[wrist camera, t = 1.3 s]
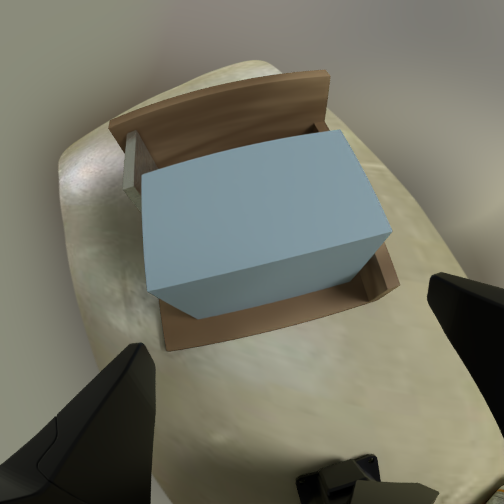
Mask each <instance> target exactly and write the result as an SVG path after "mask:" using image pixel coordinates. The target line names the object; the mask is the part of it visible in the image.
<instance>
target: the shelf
mask: <svg viewBox="0 0 504 504" xmlns="http://www.w3.org/2000/svg"><path fill="white" fill-rule="evenodd" d="M329 84H330V75H329V74H328V72H327V71H326V70H315V71H303V72H293V73H286V74H277V75H270V76H263V77H257V78H251V79H246V80H241V81H236V82H231V83H226V84H222V85H217V86H213V87H209V88H205V89H201V90H197V91H193V92H190V93H186V94H183V95H179V96H176V97H173V98H170V99H166V100H163V101H160V102H157V103H154V104H151V105H148V106H146V107H143V108H140V109H137V110H135V111H132V112H129V113H127V114H124V115H122V116H119V117H117V118H115V119H112V120H110V123H109V128H108V129H109V130H110V132H111V133H112V135H113V136H114V138H115V139H116V141H117V143H118V144H119V146H120V147H121V149H122V150H123V152H124V153H125V149H126V139H127V133H130V132H132V131H135V130H137V132H138V133H139V135H140V137H141V139H142V141H143V143H144V144H145V146H146V148H147V150H148V151H149V153H150V155H151V157H152V159H153V160H154V162H155V164H156V166H157V167H158V169H161V168H165V167H168V166H171V165H174V164H178V163H181V162H185V161H188V160H192V159H195V158H199V157H203V156H206V155H210V154H214V153H218V152H222V151H226V150H230V149H234V148H239V147H243V146H248V145H252V144H257V143H262V142H267V141H272V140H277V139H282V138H288V137H293V136H299V135H305V134H312V133H318V132H325V131H330V130H329V128H328V127H327V125H326V123H325V114H326V107H327V99H328V92H329ZM398 286H400V283H399V280H398V277H397V274H396V271H395V269H394V266H393V263H392V261H391V258H390V255H389V253H388V250H387V248H386V245H385V243H384V242H383V244H382V245H381V246H380V247H379V249H378V250H377V251H376V252H375V253H374V255H373V256H372V257H371V258H370V259H369V260H368V262H367V263H366V264H365V265H364V266H363V267H362V269H361V270H360V271H359V272H358V273H357V274H356V275H355V277H354V278H353V279H352V280H351V281H350V282H347V283H343V284H340V285H336V286H333V287H329V288H326V289H322V290H319V291H315V292H311V293H307V294H304V295H300V296H296V297H292V298H288V299H285V300H281V301H277V302H273V303H269V304H265V305H260V306H256V307H252V308H248V309H244V310H239V311H235V312H230V313H226V314H221V315H217V316H212V317H208V318H203V319H196V318H194V317H192V316H191V315H189V314H187V313H185V312H183V311H181V310H179V309H177V308H176V307H174V306H172V305H170V304H168V303H166V302H165V301H163V300H161V299H159V305H160V313H161V320H162V326H163V333H164V339H165V345H166V350H167V351H169V352H170V351H176V350H182V349H188V348H193V347H199V346H204V345H209V344H215V343H220V342H224V341H229V340H234V339H239V338H243V337H248V336H252V335H256V334H261V333H265V332H269V331H273V330H277V329H281V328H285V327H289V326H293V325H297V324H300V323H304V322H308V321H311V320H315V319H318V318H322V317H325V316H329V315H332V314H335V313H339V312H342V311H345V310H349V309H352V308H355V307H358V306H361V305H364V304H367V303H370V302H373V301H376V300H378V299H380V298H382V297H383V296H385V295H386V294H388V293H389V292H391V291H392V290H394V289H395V288H397V287H398Z"/></svg>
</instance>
